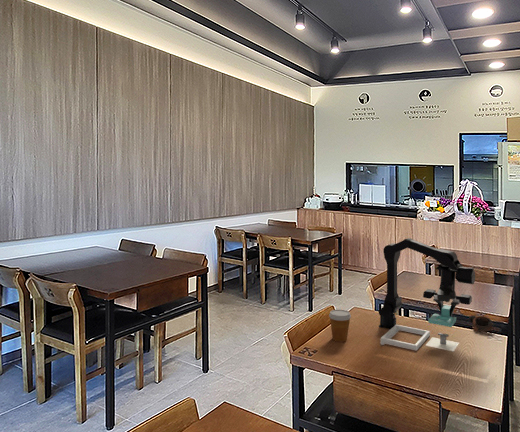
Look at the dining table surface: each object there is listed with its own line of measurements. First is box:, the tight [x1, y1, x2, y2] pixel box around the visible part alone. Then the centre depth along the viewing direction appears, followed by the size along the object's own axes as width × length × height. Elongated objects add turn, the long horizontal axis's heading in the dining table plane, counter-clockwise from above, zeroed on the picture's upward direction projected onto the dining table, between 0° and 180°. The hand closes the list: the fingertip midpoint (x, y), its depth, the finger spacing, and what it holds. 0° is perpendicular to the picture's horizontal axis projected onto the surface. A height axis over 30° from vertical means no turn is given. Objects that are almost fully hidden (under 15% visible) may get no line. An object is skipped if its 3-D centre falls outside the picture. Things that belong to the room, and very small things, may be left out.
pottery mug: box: [468, 314, 494, 333], centre depth 201 cm, size 12×10×8 cm
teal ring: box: [428, 304, 457, 328], centre depth 186 cm, size 9×14×4 cm, turn 145°
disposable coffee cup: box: [328, 309, 352, 343], centre depth 192 cm, size 10×10×12 cm
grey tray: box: [380, 324, 431, 352], centre depth 189 cm, size 15×20×3 cm
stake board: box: [425, 332, 460, 353], centre depth 183 cm, size 11×11×5 cm
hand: (446, 315), depth 189 cm, fingers closed on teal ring, 3 cm apart
